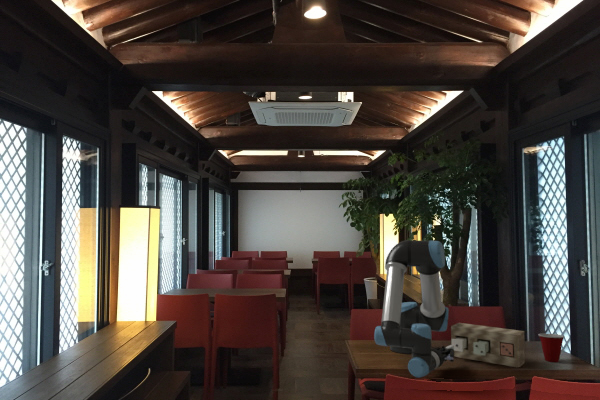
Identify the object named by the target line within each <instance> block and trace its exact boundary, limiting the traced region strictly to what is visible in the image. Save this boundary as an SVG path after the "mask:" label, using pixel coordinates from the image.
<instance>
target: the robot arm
mask: <svg viewBox="0 0 600 400" xmlns="http://www.w3.org/2000/svg"><path fill="white" fill-rule="evenodd" d="M444 249H445V248H444V245H443V243H442V242H441V241H438V240H432V239H431V240H415V239H414V240H410V239H407V240H405V239H404V240H402V241H399V242H398V243H396V244H395V245H394V246H393V247H392V248H391V250H390V251H389V253H388V254H387V256H386V259H385V266H384V269H385V271H386V275H385V276H386V277H385V284H384V285H385V286H384V293H383V294H384V296H383V305H382V315H381V324H380V325H377V326H376V327H375V329H374V333H373V334H374V335H373V336H374V337H373V339H374V342H375V344H376V345H378V346H382V347H389V349H390V351H392V352H394V353H399V354H409V355H410V354H411V359H410V360H409V361H408V364H407V368H408V369H407V370H408V371H409V373H410V374H411V376H413V377H415V378H422V377H426V376H428V374H430V373H431V372H434V371H435V370H436V369H438V368H440V367H442V366H443V363H444V362H446V361H450V362H452V363H453V362H454V345H451V344H450V345H447V346H446V347H445V345H442V346H441V347H435V348H432V338H433V337H432V332H446V331H447V329H448V324H449V323H448V322H449V307H446V306H445V304H444V303H443V302H442V295H441V294H442V293H441V283H440V282H441V281H440V272H441V271H442V269H443V268H444V267H445V266H446V257H445V250H444ZM408 267H412V268H413V267H415V270H416V272H417V273H418V274H419V280H420V289H421V299H422V303H421V305H418V303H417V302H416V301H407V302H405V301H404V302H403V294H404V293H403V292H404V284H405V283H404V282H405V273H406V272H407V271H408Z"/></svg>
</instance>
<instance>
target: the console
mask: <svg viewBox="0 0 600 400" xmlns="http://www.w3.org/2000/svg"><path fill="white" fill-rule="evenodd" d="M450 326H451V327H450V336H451V337H450V338H451V339H450V341H451V342H450V343H451V344H450V345H452V339H456V338H458V337H461V338H467V347H466V348H465V349H463V352H460V351H454V357H456V358H460V359H466V360H473V361H477V362H484V363H488V364H496V365H500V366H507V367H512V368H517V367H520V368H521V367H522V366H523V365H524V364H525V363H526V358H525V357H526V353H525V352H526V351H525V349H526V348H525V347H526V346H525V330H520V329H519V330H518V329H517V330H516V329H509V328H501V327H496V326H495V327H494V326H488V325H479V324H471V323H462V322H457V323H455V324H452V325H450ZM480 340H481V341H488V342H489V351H488V352H486V355H485V356H484V355H478V354H474V347H473V342H478V341H480ZM501 343H511V344H514V354H513V356H507V355H501Z"/></svg>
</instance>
